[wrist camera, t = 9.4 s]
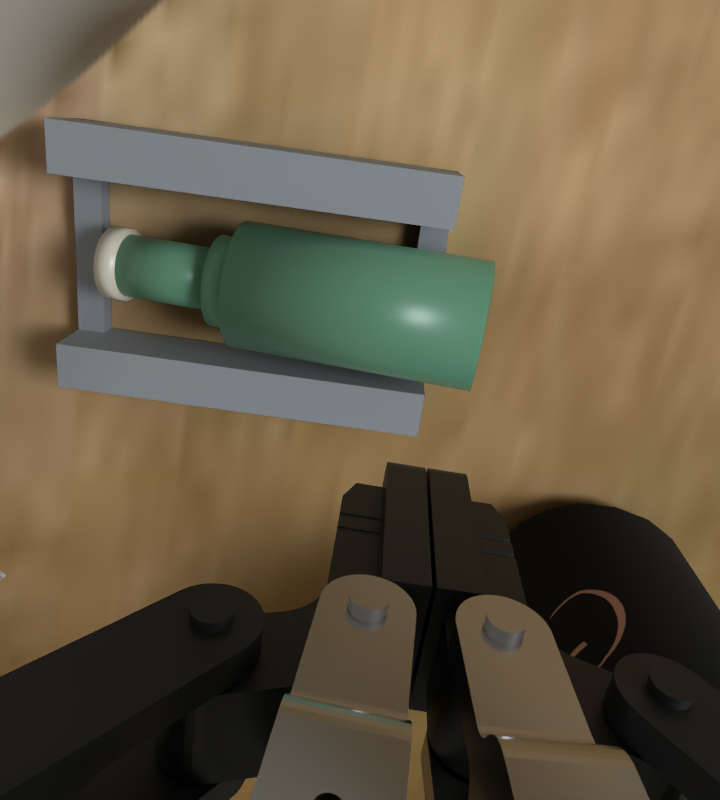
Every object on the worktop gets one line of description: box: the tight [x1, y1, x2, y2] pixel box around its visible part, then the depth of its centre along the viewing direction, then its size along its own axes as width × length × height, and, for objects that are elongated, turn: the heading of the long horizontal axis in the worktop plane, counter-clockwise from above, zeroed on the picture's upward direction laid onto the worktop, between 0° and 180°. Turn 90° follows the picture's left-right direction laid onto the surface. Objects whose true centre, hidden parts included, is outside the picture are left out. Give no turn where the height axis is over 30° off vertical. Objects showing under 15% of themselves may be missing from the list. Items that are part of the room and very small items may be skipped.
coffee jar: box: [509, 505, 720, 691], centre depth 27 cm, size 11×11×18 cm
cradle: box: [44, 118, 464, 437], centre depth 28 cm, size 16×11×3 cm
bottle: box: [93, 221, 495, 391], centre depth 27 cm, size 5×5×16 cm
